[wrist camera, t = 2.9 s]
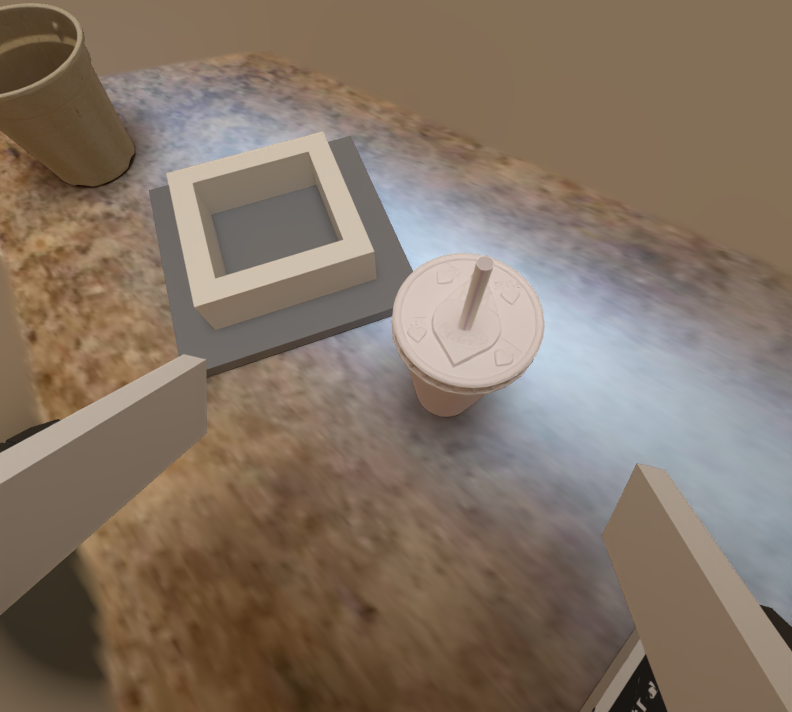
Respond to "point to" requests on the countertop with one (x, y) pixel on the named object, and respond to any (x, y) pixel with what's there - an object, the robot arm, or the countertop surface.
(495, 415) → the countertop surface
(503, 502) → the countertop surface
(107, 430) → the robot arm
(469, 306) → the smoothie
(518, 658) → the countertop surface
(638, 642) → the smartphone
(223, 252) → the socket
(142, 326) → the countertop surface
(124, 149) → the flower pot
